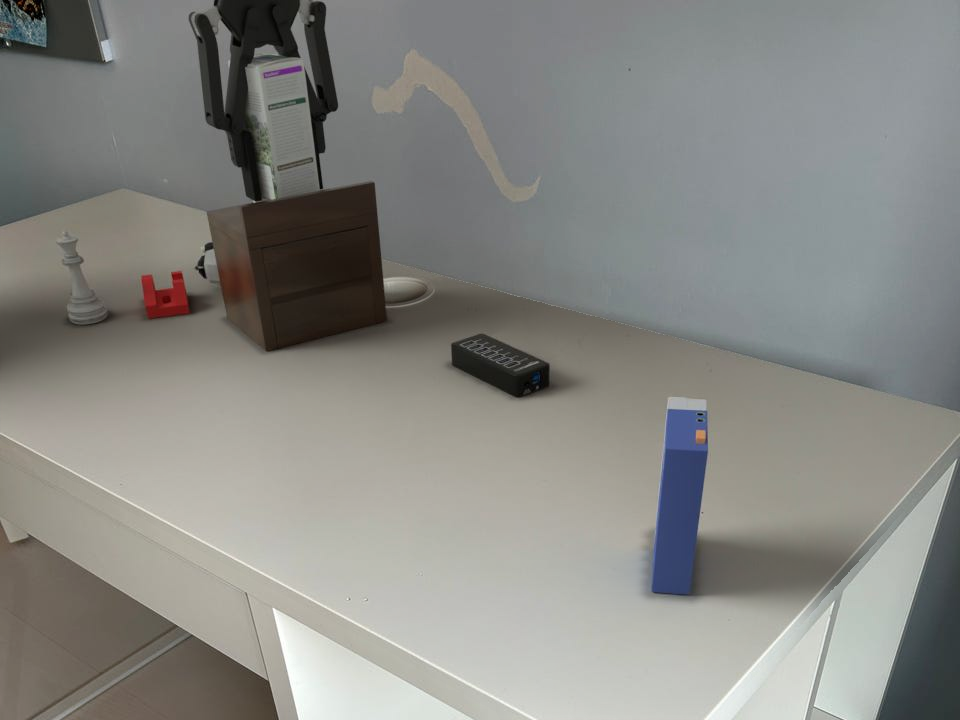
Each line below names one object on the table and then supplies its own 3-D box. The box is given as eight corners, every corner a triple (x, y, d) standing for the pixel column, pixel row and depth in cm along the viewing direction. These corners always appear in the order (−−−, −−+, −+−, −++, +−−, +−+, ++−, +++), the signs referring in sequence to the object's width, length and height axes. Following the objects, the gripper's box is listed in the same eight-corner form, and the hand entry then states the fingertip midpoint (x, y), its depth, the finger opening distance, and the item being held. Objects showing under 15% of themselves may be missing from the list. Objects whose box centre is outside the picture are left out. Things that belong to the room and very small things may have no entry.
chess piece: (116, 314, 118) (93, 227, 111) (89, 327, 115) (63, 238, 108) (89, 309, 119) (64, 223, 113) (61, 321, 116) (35, 234, 110)
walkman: (690, 595, 71) (709, 445, 63) (650, 592, 71) (665, 443, 64) (690, 536, 77) (708, 393, 69) (654, 533, 77) (668, 391, 70)
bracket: (147, 300, 121) (141, 275, 119) (186, 295, 122) (181, 270, 120) (148, 318, 116) (142, 293, 114) (189, 313, 117) (184, 288, 115)
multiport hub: (482, 353, 106) (481, 332, 104) (551, 385, 99) (551, 363, 97) (450, 364, 103) (449, 343, 102) (517, 398, 97) (517, 376, 95)
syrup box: (324, 208, 108) (306, 55, 98) (280, 220, 104) (257, 64, 95) (293, 199, 111) (273, 50, 102) (249, 210, 108) (225, 58, 98)
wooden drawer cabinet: (226, 318, 116) (200, 182, 106) (341, 291, 122) (326, 160, 112) (266, 351, 108) (241, 207, 98) (387, 320, 114) (374, 182, 104)
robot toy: (202, 269, 132) (198, 300, 120) (195, 234, 129) (191, 261, 117) (293, 260, 134) (300, 290, 121) (288, 225, 131) (294, 251, 119)
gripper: (158, -60, 86) (211, 217, 100) (357, -75, 93) (380, 184, 108) (132, -64, 91) (187, 200, 105) (323, -77, 98) (349, 170, 113)
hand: (284, 192), depth 107 cm, fingers closed on syrup box, 6 cm apart
